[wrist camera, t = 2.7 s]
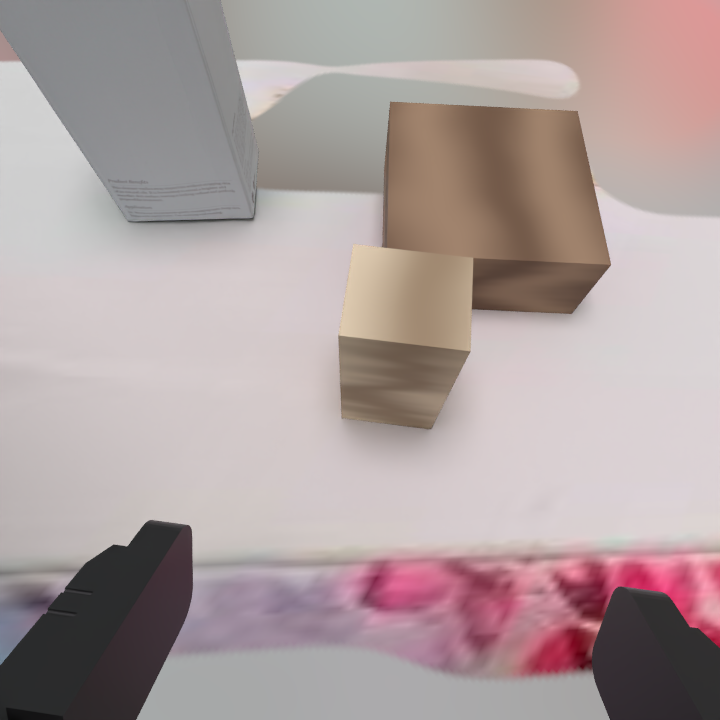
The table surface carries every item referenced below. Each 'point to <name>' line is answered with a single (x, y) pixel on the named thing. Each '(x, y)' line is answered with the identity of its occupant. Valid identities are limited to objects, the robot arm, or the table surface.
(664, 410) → the table surface
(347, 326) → the oak post
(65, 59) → the skincare box
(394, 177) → the walnut block
